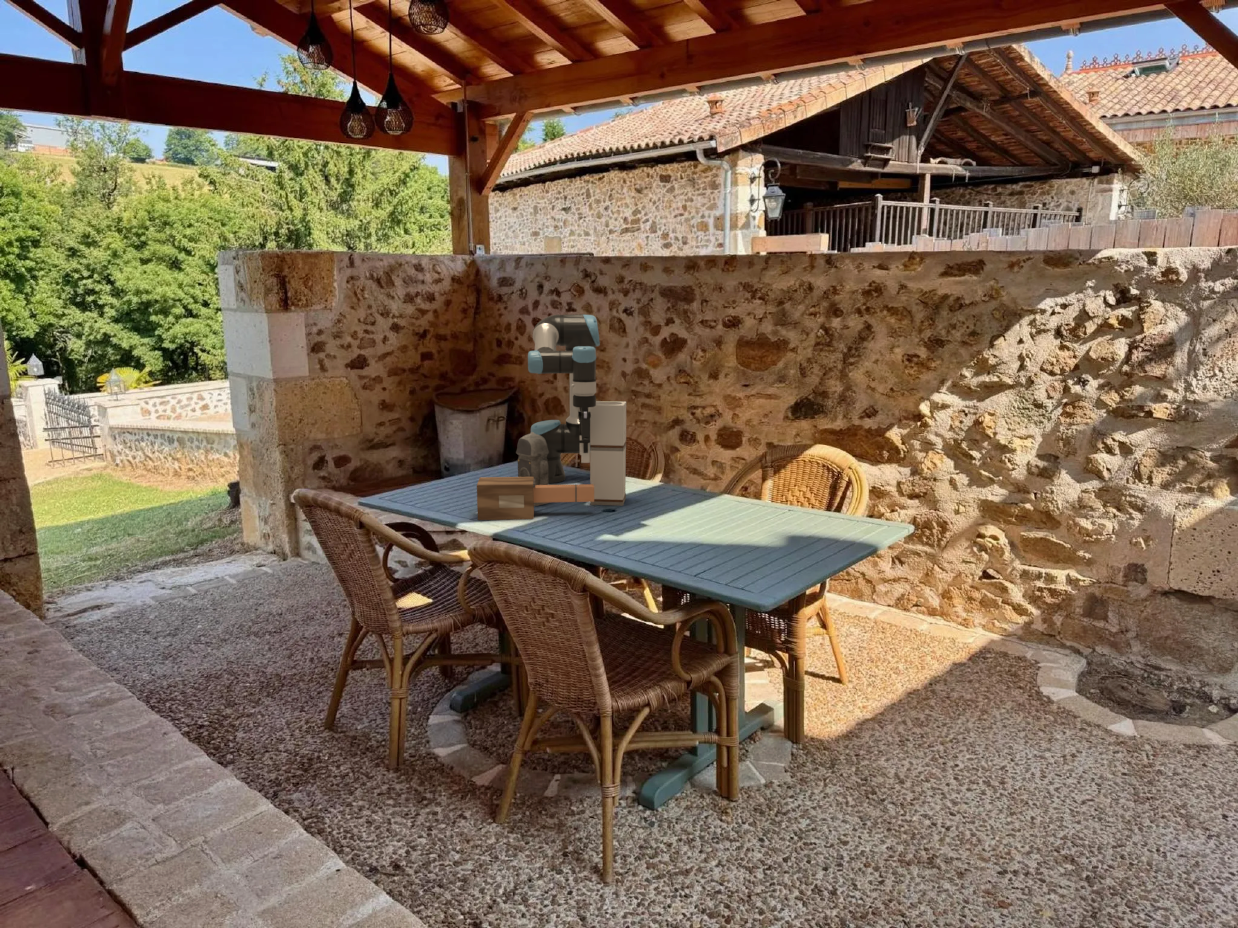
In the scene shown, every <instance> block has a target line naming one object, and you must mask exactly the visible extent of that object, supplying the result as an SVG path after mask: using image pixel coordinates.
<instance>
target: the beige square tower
mask: <svg viewBox="0 0 1238 928" xmlns="http://www.w3.org/2000/svg"><path fill="white" fill-rule="evenodd" d="M590 413H591V418H590V463H589V470H590V473H589V478H590V479H589V482H590V484H594V502H589V503H590V504H589V505H590V506H592V505H593V506H620V507H621V506H624V504H625V501H626V497H627V495H626V494H627V493H626V482H627V481H626V467H627V466H626V464H627V463H626V462H627V461H626V457H627V456H626V454H627V453H626V450H627V401H610V400H609V401H606V400H605V401H603V400H602V401H601V400H596V406H595V407H590Z"/></svg>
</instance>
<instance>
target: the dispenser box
mask: <svg viewBox="0 0 1238 928" xmlns="http://www.w3.org/2000/svg"><path fill="white" fill-rule="evenodd" d="M533 487H535V479H534V477H518V476H492V477H489V476H488V477H482V476H481V477H480V476H479V478H478V480H477V484H476V505H477V508H476V509H477V521H481V520H482V521H489V520H490V521H497V520H534V519H535V518H534V517H535V506H534V500H533Z"/></svg>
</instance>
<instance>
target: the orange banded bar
mask: <svg viewBox="0 0 1238 928" xmlns="http://www.w3.org/2000/svg"><path fill="white" fill-rule="evenodd" d="M533 500H534V503H541V502H550V503H586V502H587V503H588V502H589V503H590V502H594V484H588V483H586V484H582V483H581V484H548V485H535V487H533Z"/></svg>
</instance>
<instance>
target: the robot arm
mask: <svg viewBox="0 0 1238 928" xmlns="http://www.w3.org/2000/svg"><path fill="white" fill-rule="evenodd" d="M597 319H598V318H597V317H596V316H594V315H593V314H553V315H550V316H547V317H545V318H542V319H541V320H540V321H539V322H537V324H536V325H535V326H534V328H533V330H532V340H533V343H534V350H530V351H528V353H527V369H528V370H527V371H528V372H529V373H530V374H537V375H540V374H569V416H568V417H567V418H566V419H565V423H561V421H560V420H559V419H549V420H541V421H538V422H535V423H533V424H532V425H531V427H530V433H531V432H534V434H538V435H540V436H542V437H543V438H545V440H546V443H547V447H548V451H549V453H548V454H547V462H548V484H557V483H560V482H564V481H566V473H565V469H564V466H563V464H562V460H561V459H562V457H561V454H579V455H580V457H581V461H580V463H581V464H590V418H591V413H590V407H595V406H596V401H597V397H596V395H595V394H596V393H597V381H596V380H597V378H596V375H597V373H596V370H597V353H596V352H597V347H599V346H600V345H601V344H600V343H601V342H600V341H601V340H600V334H599V326H598V320H597ZM559 346H560V347H565V350H557V347H559ZM563 480H564V481H563Z"/></svg>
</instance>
